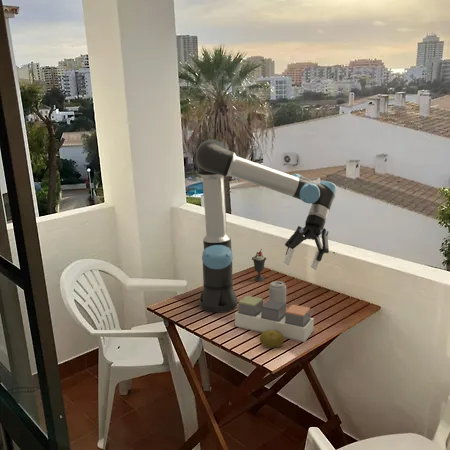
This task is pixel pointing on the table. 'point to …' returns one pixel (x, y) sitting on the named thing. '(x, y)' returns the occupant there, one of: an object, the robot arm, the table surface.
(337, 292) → the table surface
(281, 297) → the beverage can
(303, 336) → the light grey piece
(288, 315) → the key terracotta
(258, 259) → the sundae
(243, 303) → the key olive
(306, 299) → the table surface
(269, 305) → the key charcoal
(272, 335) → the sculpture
